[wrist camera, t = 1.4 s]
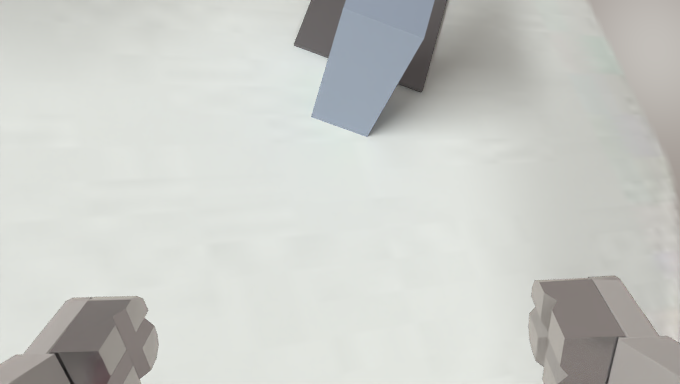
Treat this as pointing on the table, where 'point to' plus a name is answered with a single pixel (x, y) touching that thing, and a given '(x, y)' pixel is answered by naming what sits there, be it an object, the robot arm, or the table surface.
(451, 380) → the table surface
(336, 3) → the mat
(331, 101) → the slate pillar
